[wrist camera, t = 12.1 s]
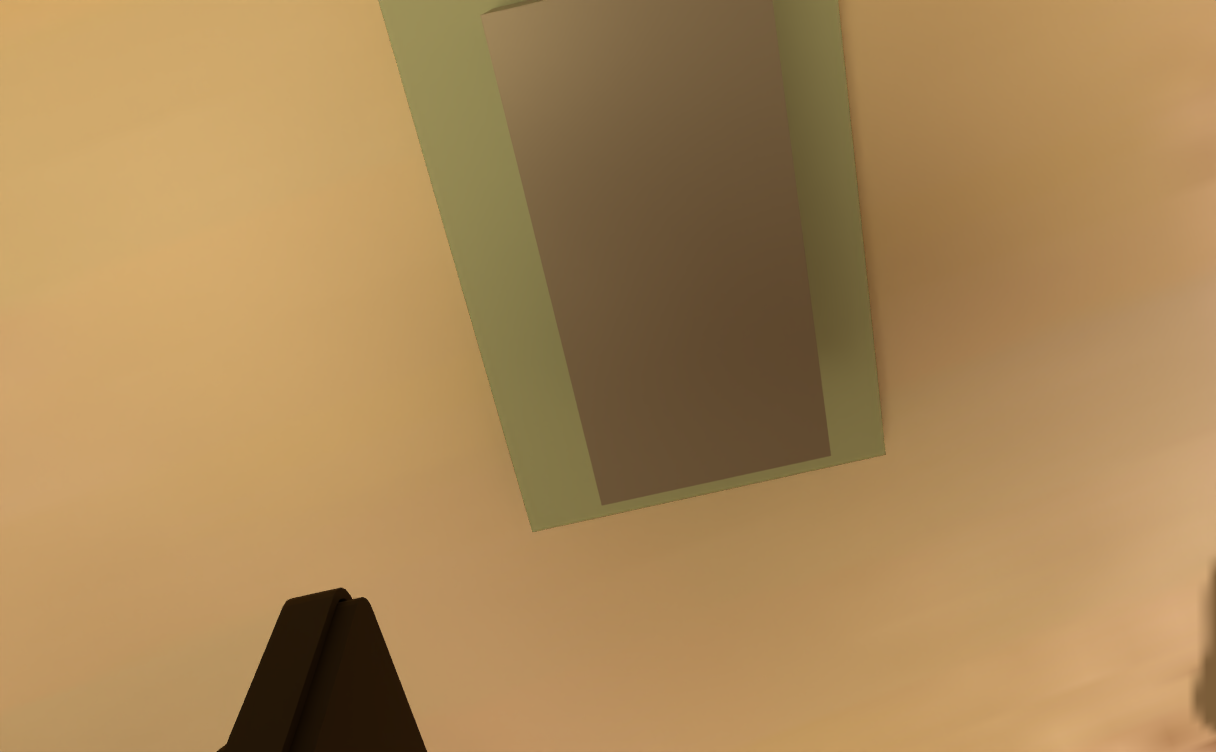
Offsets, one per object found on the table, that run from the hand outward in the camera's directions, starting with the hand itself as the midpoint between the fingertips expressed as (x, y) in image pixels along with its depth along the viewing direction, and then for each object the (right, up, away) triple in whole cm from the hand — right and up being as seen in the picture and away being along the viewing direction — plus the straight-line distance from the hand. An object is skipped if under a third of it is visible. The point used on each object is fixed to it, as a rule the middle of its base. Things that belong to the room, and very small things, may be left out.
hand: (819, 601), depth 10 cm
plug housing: (-1, +7, +17) cm, 19 cm away
